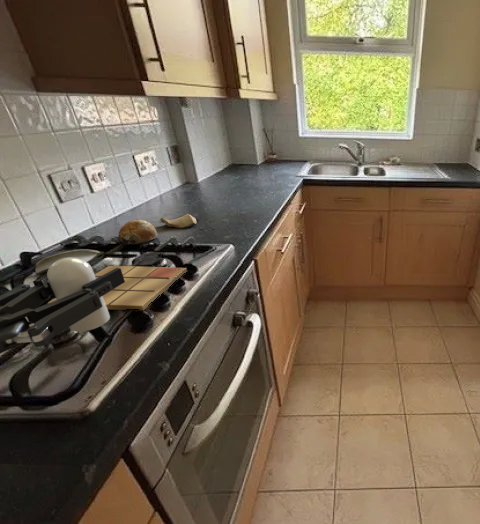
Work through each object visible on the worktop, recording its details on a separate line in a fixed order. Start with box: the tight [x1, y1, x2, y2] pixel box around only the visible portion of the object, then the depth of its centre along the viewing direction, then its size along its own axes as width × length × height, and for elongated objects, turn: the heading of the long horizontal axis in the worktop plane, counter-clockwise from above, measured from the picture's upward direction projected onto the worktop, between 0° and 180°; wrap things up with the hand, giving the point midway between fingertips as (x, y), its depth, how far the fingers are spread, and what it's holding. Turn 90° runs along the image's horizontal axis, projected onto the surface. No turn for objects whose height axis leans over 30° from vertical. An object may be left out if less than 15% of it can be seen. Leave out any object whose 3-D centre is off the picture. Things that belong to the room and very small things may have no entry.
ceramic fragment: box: [34, 249, 102, 275], centre depth 86 cm, size 14×5×4 cm, turn 141°
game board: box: [47, 265, 188, 311], centre depth 78 cm, size 20×18×1 cm
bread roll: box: [117, 219, 159, 245], centre depth 104 cm, size 10×10×8 cm
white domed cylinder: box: [46, 257, 111, 333], centre depth 53 cm, size 5×5×12 cm
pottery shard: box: [159, 213, 198, 229], centre depth 118 cm, size 11×4×10 cm
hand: (104, 273), depth 57 cm, fingers closed on white domed cylinder, 5 cm apart
